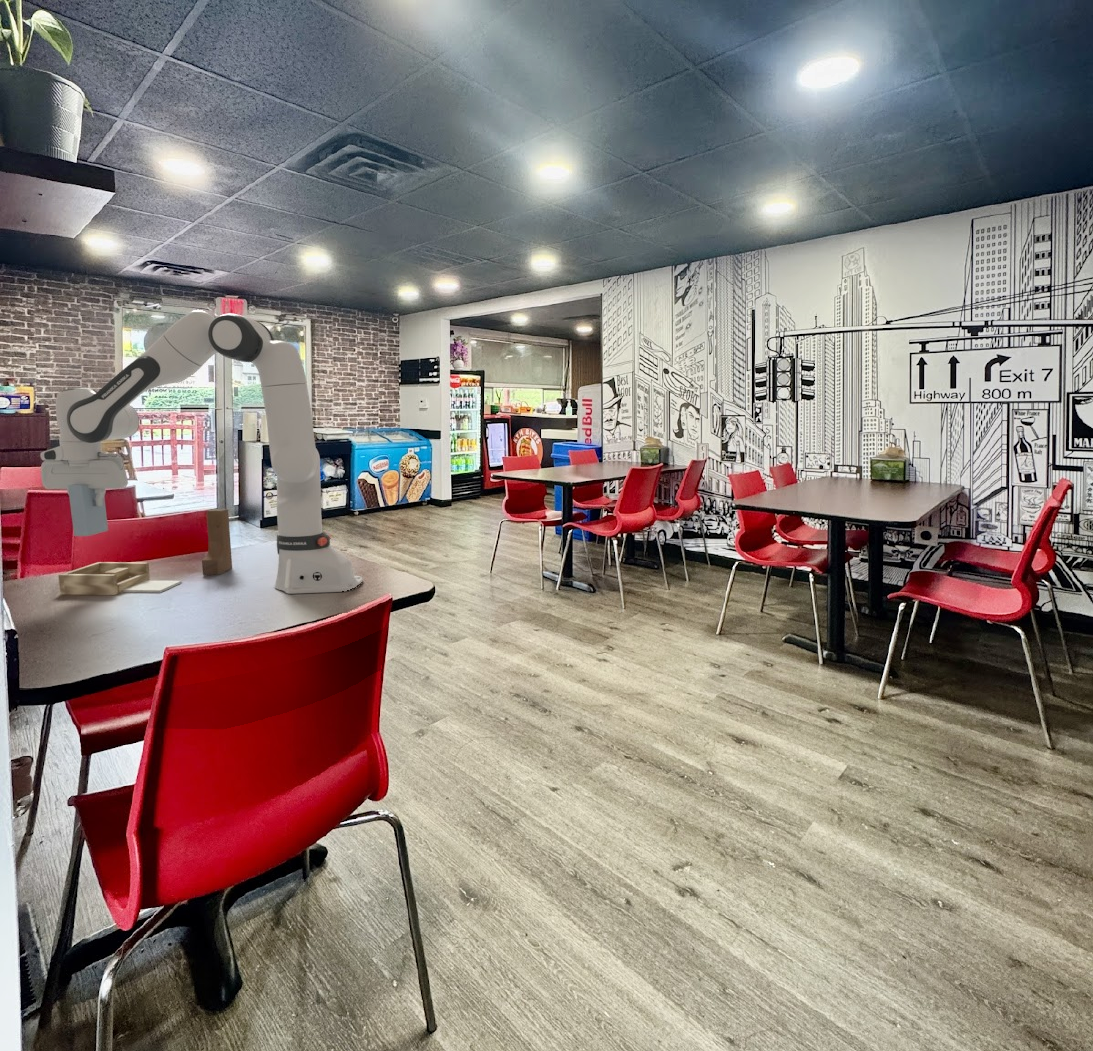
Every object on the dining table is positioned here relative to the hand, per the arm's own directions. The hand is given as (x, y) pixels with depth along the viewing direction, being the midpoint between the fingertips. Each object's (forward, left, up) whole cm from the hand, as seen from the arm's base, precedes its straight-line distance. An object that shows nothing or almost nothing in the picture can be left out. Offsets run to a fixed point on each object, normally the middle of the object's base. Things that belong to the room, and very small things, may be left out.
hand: (88, 506), depth 174 cm
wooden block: (-23, -18, -22) cm, 37 cm away
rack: (-3, 0, -22) cm, 22 cm away
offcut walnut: (-6, 0, -22) cm, 23 cm away
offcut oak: (-6, 0, -20) cm, 20 cm away
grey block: (0, 0, -7) cm, 7 cm away
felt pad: (-15, 0, -22) cm, 26 cm away
